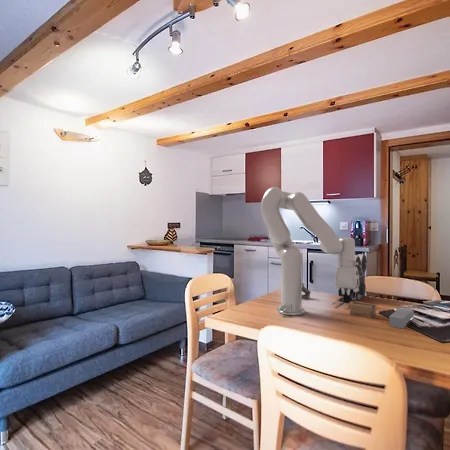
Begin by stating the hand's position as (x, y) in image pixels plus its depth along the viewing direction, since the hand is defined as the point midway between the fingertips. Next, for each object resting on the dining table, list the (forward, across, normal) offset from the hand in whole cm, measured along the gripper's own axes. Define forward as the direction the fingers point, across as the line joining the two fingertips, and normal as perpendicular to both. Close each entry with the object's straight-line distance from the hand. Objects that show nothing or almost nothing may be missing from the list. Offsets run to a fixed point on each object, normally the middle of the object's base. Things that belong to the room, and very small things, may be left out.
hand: (346, 302), depth 150 cm
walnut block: (+4, -7, 0) cm, 9 cm away
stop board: (+4, -23, 0) cm, 24 cm away
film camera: (+5, +8, -23) cm, 25 cm away
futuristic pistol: (+4, +32, -8) cm, 33 cm away
